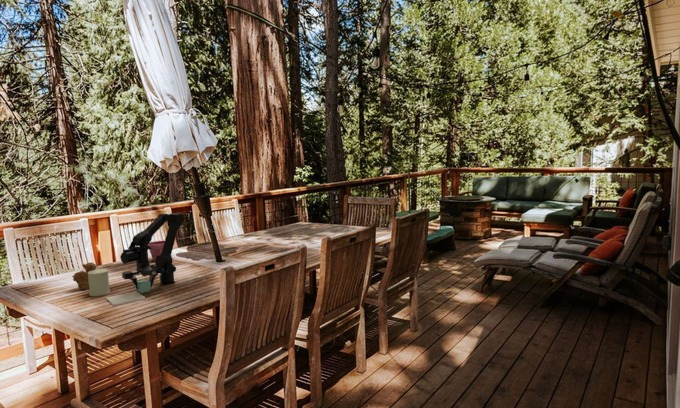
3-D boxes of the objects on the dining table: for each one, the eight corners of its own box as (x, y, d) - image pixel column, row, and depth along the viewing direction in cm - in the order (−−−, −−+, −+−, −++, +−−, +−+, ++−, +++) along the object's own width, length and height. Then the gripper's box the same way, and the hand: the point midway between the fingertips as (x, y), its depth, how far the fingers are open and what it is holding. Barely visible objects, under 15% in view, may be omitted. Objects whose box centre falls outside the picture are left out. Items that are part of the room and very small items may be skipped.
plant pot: (150, 259, 290) (149, 241, 289) (172, 257, 295) (171, 239, 293) (147, 264, 277) (146, 244, 275) (170, 262, 281) (169, 243, 280)
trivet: (136, 292, 215) (136, 291, 215) (145, 299, 204) (145, 297, 204) (106, 299, 206) (106, 297, 206) (113, 306, 195) (113, 304, 195)
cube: (147, 288, 222) (147, 279, 221) (150, 290, 218) (150, 281, 218) (137, 290, 218) (137, 281, 218) (140, 293, 215) (140, 283, 214)
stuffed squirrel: (107, 284, 231) (105, 260, 230) (85, 292, 218) (83, 267, 217) (92, 283, 234) (90, 260, 233) (70, 291, 221) (68, 266, 219)
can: (91, 291, 218) (89, 269, 217) (111, 289, 221) (109, 267, 220) (87, 297, 209) (85, 273, 208) (108, 294, 213) (106, 271, 211)
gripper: (127, 265, 204) (129, 296, 206) (166, 258, 217) (168, 288, 218) (120, 261, 213) (122, 291, 214) (158, 255, 225) (160, 283, 227)
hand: (144, 288), depth 218 cm, fingers open, 6 cm apart
